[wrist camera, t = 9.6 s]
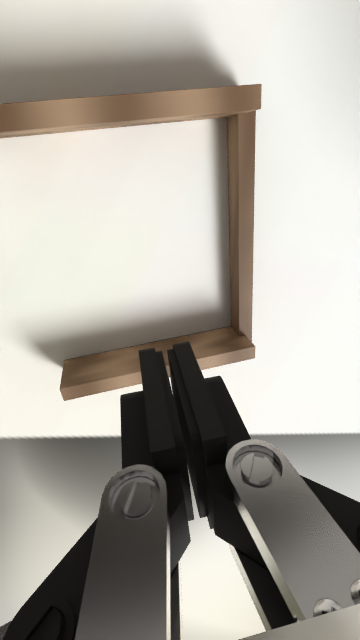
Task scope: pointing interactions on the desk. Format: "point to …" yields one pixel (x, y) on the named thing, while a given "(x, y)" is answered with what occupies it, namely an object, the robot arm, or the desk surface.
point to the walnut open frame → (240, 112)
